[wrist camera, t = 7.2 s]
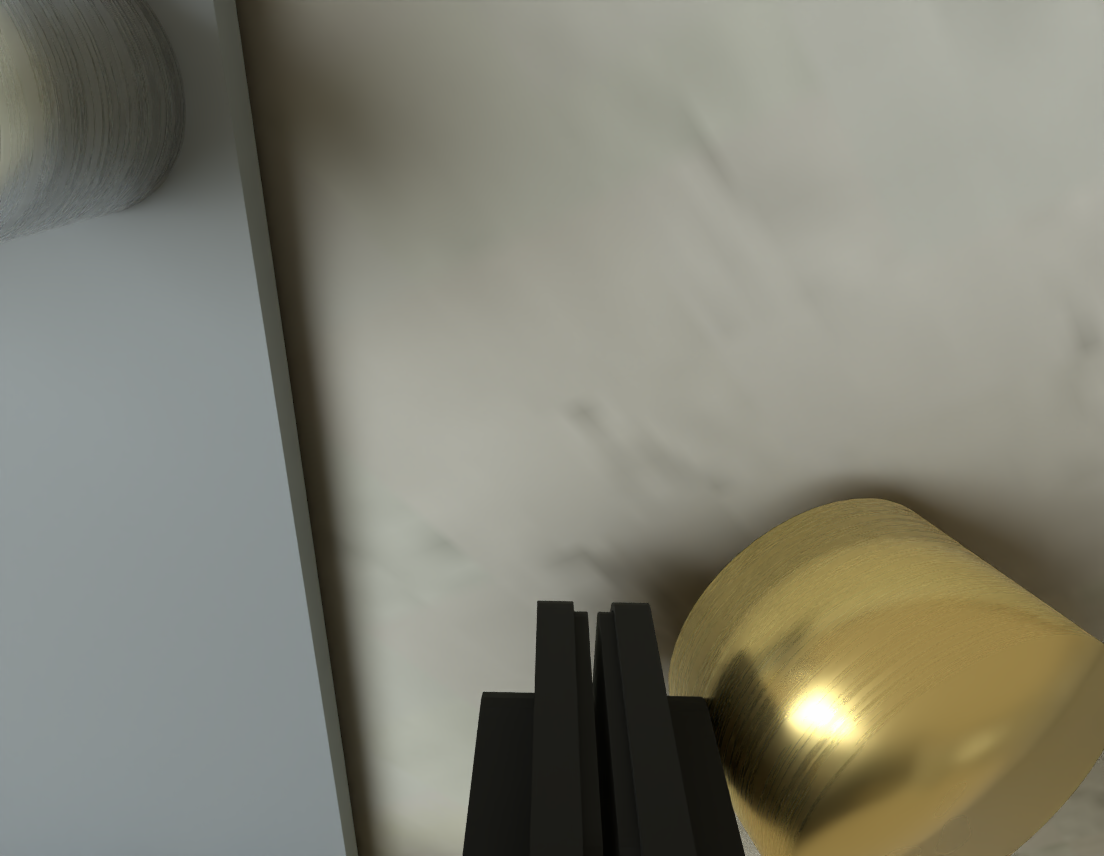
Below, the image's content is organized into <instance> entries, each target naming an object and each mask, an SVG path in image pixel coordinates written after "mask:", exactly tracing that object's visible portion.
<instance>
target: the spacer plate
mask: <svg viewBox="0 0 1104 856" xmlns="http://www.w3.org/2000/svg"><path fill="white" fill-rule="evenodd" d="M145 1H146V2H147V3H148V5H149V6H150V7H151V9H152V10H153V12H154V14H155V15H156V17H157V19H158V20H159V22H160V24H161V25H162V27H163V29H164V31H165V33H166V35H167V37H168V39H169V42H170V44H171V46H172V48H173V51H174V54H175V57H176V60H177V62H178V65H179V69H180V74H181V78H182V82H183V88H184V96H185V128H184V135H183V140H182V144H181V148H180V151H179V155H178V157H177V159H176V161H175V164H174V166H173V168H172V170H171V171H170V173H169V174H168V176H167V177H166V179H165V180H164V181H163V183H162V184H161V185H160V186H159V187H158V188H157V189H156V190H155V191H154V192H153V193H152V194H150V195H149V196H148V197H147V198H145V199H144V200H142V201H141V202H139V203H137V204H135V205H133V206H131V207H129V208H126V209H123V210H120V211H118V212H114V213H110V214H107V215H103V216H99V217H95V218H92V219H88V220H84V221H80V222H77V223H73V224H69V225H66V226H62V227H58V228H54V229H51V230H47V231H43V232H39V233H36V234H32V235H28V236H25V237H21V238H17V239H13V240H10V241H6V242H2V243H0V856H358V852H357V845H356V838H355V831H354V824H353V817H352V810H351V803H350V796H349V789H348V782H347V775H346V768H345V761H344V754H343V747H342V740H341V733H340V726H339V719H338V712H337V705H336V698H335V692H334V685H333V678H332V671H331V664H330V657H329V650H328V643H327V636H326V629H325V622H324V615H323V608H322V601H321V594H320V587H319V580H318V573H317V566H316V559H315V552H314V545H313V538H312V531H311V525H310V518H309V511H308V504H307V497H306V490H305V483H304V476H303V469H302V462H301V455H300V448H299V441H298V434H297V427H296V420H295V413H294V406H293V399H292V392H291V385H290V378H289V371H288V364H287V358H286V351H285V344H284V337H283V330H282V323H281V316H280V309H279V302H278V295H277V288H276V281H275V274H274V267H273V260H272V253H271V246H270V239H269V232H268V225H267V218H266V211H265V204H264V197H263V191H262V184H261V177H260V170H259V163H258V156H257V149H256V142H255V135H254V128H253V121H252V114H251V107H250V100H249V93H248V86H247V79H246V72H245V65H244V58H243V51H242V44H241V37H240V31H239V24H238V17H237V10H236V3H235V0H145Z"/></svg>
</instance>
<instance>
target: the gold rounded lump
mask: <svg viewBox="0 0 1104 856" xmlns="http://www.w3.org/2000/svg"><path fill="white" fill-rule="evenodd" d="M668 677H669V695H670V696H699V697H703V698H704V700H705V701H706V704H707V707H708V710H709V714H710V718H711V722H712V726H713V730H714V734H715V738H716V742H717V746H718V750H719V754H720V758H721V762H722V766H723V770H724V774H725V778H726V781H727V785H728V789H729V793H730V797H731V801H732V805H733V809H734V812H735V813H736V815H737V816H738V818H739V820H740V821H741V823H742V825H743V826H744V828H745V830H746V831H747V833H748V834H749V836H750V838H751V839H752V841H753V843H754V844H755V846H756V848H757V849H758V851H759V852H760V854H761V856H1010V855H1011V854H1012V853H1014V852H1015V851H1016V850H1017V849H1018V848H1019V847H1021V846H1022V845H1023V844H1024V843H1025V842H1026V841H1027V840H1029V839H1030V838H1031V837H1032V836H1033V835H1034V834H1035V833H1036V832H1037V831H1038V830H1039V829H1040V828H1041V827H1042V826H1043V825H1044V824H1046V823H1047V822H1048V821H1049V819H1050V818H1051V817H1052V816H1053V815H1054V814H1055V813H1056V812H1057V811H1058V810H1059V809H1060V808H1061V807H1062V806H1063V804H1064V803H1065V802H1066V801H1067V800H1068V799H1069V797H1070V796H1071V795H1072V794H1073V793H1074V791H1075V790H1076V789H1077V788H1078V786H1079V785H1080V784H1081V782H1082V781H1083V780H1084V778H1085V777H1086V776H1087V774H1088V773H1089V772H1090V770H1091V769H1092V767H1093V766H1094V764H1095V763H1096V761H1097V760H1098V758H1099V756H1100V755H1101V753H1102V751H1103V750H1104V644H1103V643H1102V642H1100V641H1099V640H1097V639H1096V638H1095V637H1093V636H1092V635H1090V634H1089V633H1087V632H1086V631H1085V630H1083V629H1082V628H1080V627H1079V626H1077V625H1076V624H1074V623H1073V622H1072V621H1070V620H1069V619H1067V618H1066V617H1064V616H1063V615H1062V614H1060V613H1059V612H1057V611H1056V610H1054V609H1053V608H1051V607H1050V606H1049V605H1047V604H1046V603H1044V602H1043V601H1041V600H1040V599H1039V598H1037V597H1036V596H1034V595H1033V594H1031V593H1030V592H1028V591H1027V590H1026V589H1024V588H1023V587H1021V586H1020V585H1018V584H1017V583H1016V582H1014V581H1013V580H1011V579H1010V578H1008V577H1007V576H1005V575H1004V574H1003V573H1001V572H1000V571H998V570H997V569H995V568H994V567H993V566H991V565H990V564H988V563H987V562H985V561H984V560H983V559H981V558H980V557H978V556H977V555H975V554H974V553H972V552H971V551H970V550H968V549H967V548H965V547H964V546H962V545H961V544H960V543H958V542H957V541H955V540H954V539H952V538H951V537H949V536H948V535H947V534H945V533H944V532H942V531H941V530H939V529H938V528H937V527H935V526H934V525H932V524H931V523H929V522H928V521H926V520H925V519H924V518H922V517H921V516H919V515H918V514H916V513H915V512H914V511H912V510H910V509H908V508H906V507H905V506H903V505H901V504H898V503H895V502H891V501H888V500H883V499H874V498H860V499H849V500H843V501H838V502H833V503H829V504H826V505H823V506H820V507H816V508H813V509H811V510H809V511H806V512H804V513H802V514H799V515H797V516H795V517H793V518H791V519H789V520H787V521H786V522H784V523H782V524H780V525H778V526H776V527H775V528H773V529H772V530H770V531H769V532H767V533H766V534H764V535H763V536H761V537H760V538H758V539H757V540H755V541H754V542H753V543H752V544H751V545H749V546H748V547H747V548H746V549H744V550H743V551H742V552H741V553H739V554H738V555H737V556H736V557H735V558H734V559H733V560H732V561H731V562H730V563H729V564H728V565H727V566H726V567H725V568H724V569H723V570H722V571H721V572H720V573H719V574H718V575H717V576H716V578H715V579H714V580H713V581H712V582H711V583H710V585H709V586H708V587H707V588H706V590H705V591H704V592H703V594H702V595H701V597H700V598H699V599H698V601H697V602H696V604H695V605H694V607H693V608H692V610H691V612H690V614H689V615H688V617H687V619H686V621H685V623H684V624H683V627H682V629H681V631H680V634H679V636H678V638H677V641H676V643H675V647H674V650H673V654H672V657H671V662H670V669H669V676H668Z"/></svg>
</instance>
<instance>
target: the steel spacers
mask: <svg viewBox="0 0 1104 856" xmlns="http://www.w3.org/2000/svg"><path fill="white" fill-rule="evenodd" d="M184 128H185V96H184V88H183V82H182V78H181V74H180V69H179V65H178V62H177V60H176V57H175V54H174V51H173V48H172V46H171V44H170V42H169V39H168V37H167V35H166V33H165V31H164V29H163V27H162V25H161V24H160V22H159V20H158V19H157V17H156V15H155V14H154V12H153V10H152V9H151V7H150V6H149V5H148V3H147V2H146V1H145V0H0V243H2V242H6V241H10V240H13V239H17V238H21V237H25V236H28V235H32V234H36V233H39V232H43V231H47V230H51V229H54V228H58V227H62V226H66V225H69V224H73V223H77V222H80V221H84V220H88V219H92V218H95V217H99V216H103V215H107V214H110V213H114V212H118V211H120V210H123V209H126V208H129V207H131V206H133V205H135V204H137V203H139V202H141V201H142V200H144V199H145V198H147V197H148V196H149V195H150V194H152V193H153V192H154V191H155V190H156V189H157V188H158V187H159V186H160V185H161V184H162V183H163V181H164V180H165V179H166V177H167V176H168V174H169V173H170V171H171V170H172V168H173V166H174V164H175V161H176V159H177V157H178V155H179V151H180V148H181V144H182V140H183V135H184Z"/></svg>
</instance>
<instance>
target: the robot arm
mask: <svg viewBox="0 0 1104 856" xmlns="http://www.w3.org/2000/svg"><path fill="white" fill-rule="evenodd" d="M463 856H745V853H744V849H743V845H742V841H741V837H740V833H739V829H738V825H737V821H736V817H735V813H734V809H733V805H732V801H731V797H730V793H729V789H728V785H727V781H726V778H725V774H724V770H723V766H722V762H721V758H720V754H719V750H718V746H717V742H716V738H715V734H714V730H713V726H712V722H711V718H710V714H709V710H708V707H707V704H706V701H705V700H704V698H703V697H699V696H667V694H666V688H665V683H664V678H663V673H662V667H661V662H660V657H659V651H658V646H657V641H656V635H655V630H654V625H653V619H652V614H651V609H650V605H649V604H648V603H614V602H613V603H612V605H611V612H598V615H597V627H596V641H595V655H594V669H593V683H592V672H591V657H590V641H589V626H588V613H587V612H575V611H574V605H573V602H572V601H537V631H536V663H535V693H515V692H483V694H482V698H481V705H480V713H479V722H478V730H477V738H476V747H475V755H474V764H473V772H472V781H471V789H470V797H469V806H468V814H467V823H466V831H465V840H464V848H463Z"/></svg>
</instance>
